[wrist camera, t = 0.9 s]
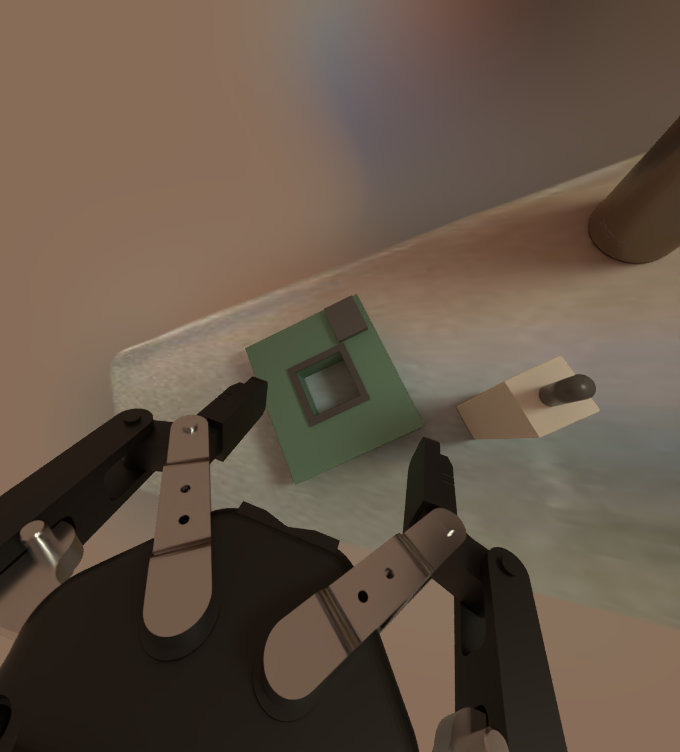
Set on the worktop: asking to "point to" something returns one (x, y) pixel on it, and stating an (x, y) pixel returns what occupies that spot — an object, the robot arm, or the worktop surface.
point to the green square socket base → (348, 420)
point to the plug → (531, 403)
